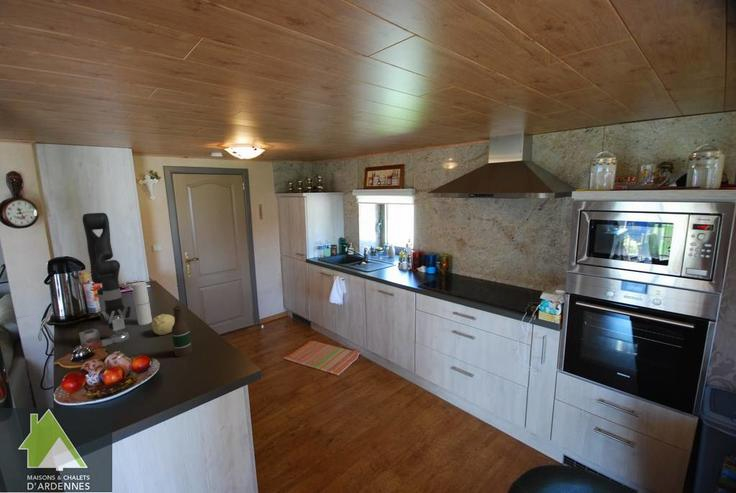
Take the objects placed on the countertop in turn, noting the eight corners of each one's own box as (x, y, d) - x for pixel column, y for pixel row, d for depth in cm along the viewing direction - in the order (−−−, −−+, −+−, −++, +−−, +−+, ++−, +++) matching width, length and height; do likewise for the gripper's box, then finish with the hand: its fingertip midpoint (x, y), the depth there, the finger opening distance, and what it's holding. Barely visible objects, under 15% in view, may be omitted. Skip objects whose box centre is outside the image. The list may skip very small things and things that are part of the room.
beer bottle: (180, 358, 158) (173, 310, 154) (171, 354, 162) (164, 308, 158) (195, 351, 164) (189, 305, 160) (186, 348, 169) (180, 303, 164)
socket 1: (81, 345, 176) (78, 331, 175) (94, 340, 181) (92, 327, 180) (87, 347, 173) (85, 333, 172) (100, 342, 179) (98, 329, 177)
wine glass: (75, 350, 169) (72, 337, 168) (126, 335, 186) (124, 323, 185) (79, 355, 164) (76, 341, 163) (131, 339, 181) (129, 326, 180)
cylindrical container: (145, 325, 200) (138, 285, 196) (135, 324, 201) (128, 285, 197) (155, 320, 207) (149, 281, 202) (145, 320, 208) (139, 281, 204)
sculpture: (150, 333, 188) (147, 315, 186) (173, 326, 197) (171, 309, 195) (156, 339, 180) (153, 320, 178) (180, 331, 189) (178, 313, 187)
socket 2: (111, 328, 179) (109, 317, 178) (122, 325, 183) (120, 314, 182) (114, 331, 176) (111, 319, 175) (125, 327, 180) (123, 316, 178)
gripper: (126, 292, 184) (131, 321, 187) (94, 299, 173) (99, 330, 176) (130, 295, 179) (135, 324, 182) (97, 302, 168) (103, 334, 171)
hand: (118, 327), depth 179 cm, fingers closed on socket 2, 5 cm apart
